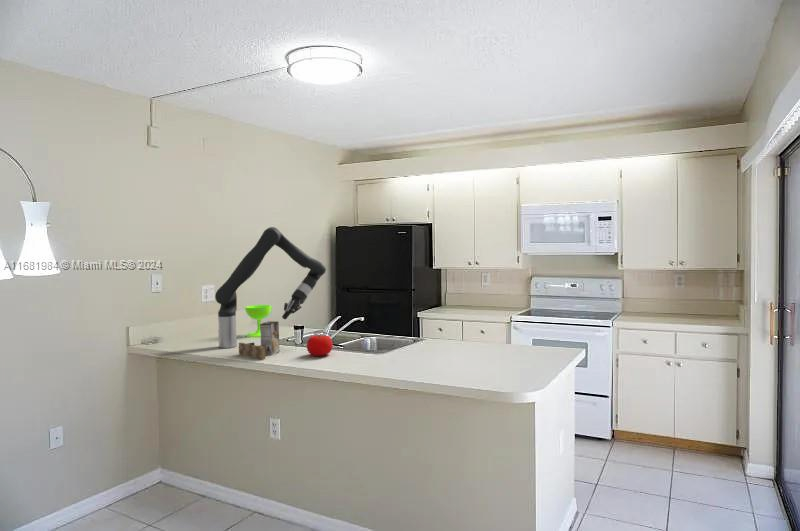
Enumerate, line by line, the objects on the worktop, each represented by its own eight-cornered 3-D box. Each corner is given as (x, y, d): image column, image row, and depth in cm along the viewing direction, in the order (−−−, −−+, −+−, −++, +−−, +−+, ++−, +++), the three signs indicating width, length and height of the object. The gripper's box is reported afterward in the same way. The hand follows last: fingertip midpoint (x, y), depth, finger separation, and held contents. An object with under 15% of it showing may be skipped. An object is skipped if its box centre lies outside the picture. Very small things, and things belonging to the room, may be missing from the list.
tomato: (306, 353, 291) (305, 333, 291) (331, 351, 294) (331, 331, 293) (307, 358, 277) (307, 337, 277) (334, 357, 280) (333, 336, 279)
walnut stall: (239, 354, 293) (238, 342, 292) (247, 352, 296) (247, 341, 296) (263, 359, 277) (262, 347, 277) (272, 358, 281) (271, 345, 281)
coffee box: (268, 351, 299) (267, 321, 298) (280, 351, 297) (278, 321, 297) (260, 355, 290) (259, 323, 289) (272, 355, 288) (271, 323, 288)
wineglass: (277, 333, 357) (276, 305, 357) (261, 338, 343) (260, 308, 342) (257, 332, 364) (256, 304, 363) (240, 336, 349) (239, 307, 349)
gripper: (290, 288, 310) (272, 313, 302) (305, 289, 301) (286, 314, 293) (298, 297, 314) (280, 321, 306) (313, 298, 305) (295, 323, 297)
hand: (283, 318), depth 299 cm, fingers closed
